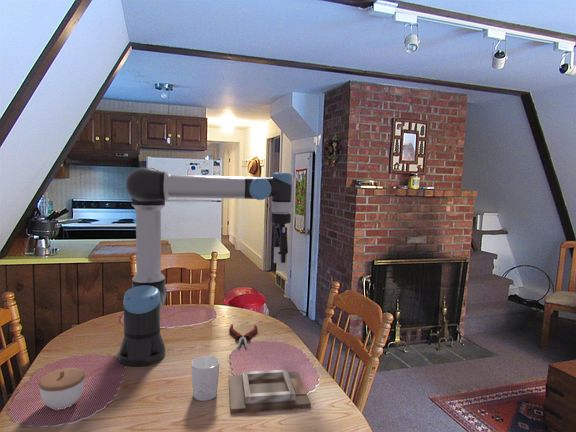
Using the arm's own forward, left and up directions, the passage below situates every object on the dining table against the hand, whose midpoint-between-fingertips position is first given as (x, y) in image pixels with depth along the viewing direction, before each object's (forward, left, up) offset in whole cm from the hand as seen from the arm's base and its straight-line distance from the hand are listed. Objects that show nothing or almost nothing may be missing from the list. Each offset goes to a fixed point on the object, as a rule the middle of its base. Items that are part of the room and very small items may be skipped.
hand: (279, 266), depth 157 cm
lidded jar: (-65, -40, -28) cm, 82 cm away
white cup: (-27, -40, -28) cm, 56 cm away
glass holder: (-9, -41, -28) cm, 51 cm away
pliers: (-15, 0, -29) cm, 32 cm away
